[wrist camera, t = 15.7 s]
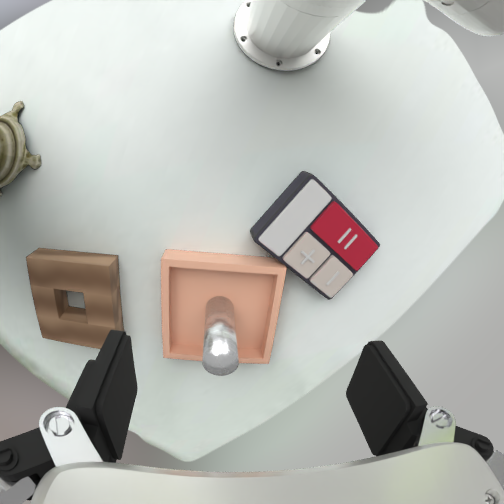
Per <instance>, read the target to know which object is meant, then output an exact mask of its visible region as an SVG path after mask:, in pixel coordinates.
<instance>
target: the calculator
mask: <svg viewBox="0 0 504 504" xmlns="http://www.w3.org/2000/svg"><path fill="white" fill-rule="evenodd" d="M250 232H251V235H252V237H253V239H254V241H255V242H256V243H257V244H258V245H260V246H261V247H262V248H264V249H265V250H266V251H267V252H269V253H270V254H271V255H272V256H274V257H275V258H276V259H278V260H279V261H280V262H281V263H283V264H284V265H285V266H286V267H288V268H289V269H290V270H291V271H293V272H294V273H295V274H297V275H298V276H299V277H300V278H302V279H303V280H304V281H305V282H307V283H308V284H309V285H310V286H312V287H313V288H314V289H315V290H317V291H318V292H319V293H320V294H322V295H323V296H324V297H325V298H327V299H332V298H333V297H334V296H335V294H336V293H337V292H338V291H339V290H340V289H341V288H342V287H343V286H344V285H345V284H346V283H347V282H348V281H349V280H350V279H351V278H352V277H353V276H354V274H355V273H356V272H357V271H358V270H359V269H360V268H361V267H362V266H363V265H364V264H365V262H366V261H367V260H368V259H369V258H370V257H371V256H372V255H373V254H374V252H375V251H376V250H377V249H378V248H379V246H380V244H379V242H378V241H377V240H376V239H375V238H374V237H373V236H372V234H371V233H370V232H369V231H368V230H367V229H366V228H365V227H364V226H363V225H362V224H361V223H360V222H359V220H358V219H357V218H356V217H355V216H354V215H353V214H352V213H351V212H350V211H349V210H348V209H347V208H346V207H345V206H344V205H343V204H342V203H341V202H340V201H339V200H338V199H337V198H336V197H335V196H334V195H333V194H332V193H331V192H330V191H329V190H328V189H327V188H326V187H325V186H324V185H323V184H322V183H321V182H320V181H319V180H318V179H317V178H316V177H315V176H314V175H313V174H310V173H308V172H305V171H302V172H301V173H300V174H299V175H298V176H297V177H296V178H295V180H294V181H293V182H292V183H291V184H290V185H289V186H288V187H287V189H286V190H285V191H284V192H283V193H282V194H281V195H280V196H279V198H278V199H277V200H276V201H275V202H274V203H273V204H272V206H271V207H270V208H269V209H268V210H267V211H266V212H265V213H264V215H263V216H262V217H261V218H260V219H259V220H258V221H257V223H256V224H255V225H254V226H253V227H252V228H251V230H250Z"/></svg>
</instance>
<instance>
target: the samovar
mask: <svg viewBox="0 0 504 504" xmlns="http://www.w3.org/2000/svg"><path fill="white" fill-rule="evenodd" d="M22 108H24V104H23V102H22V101H19V102H17V103H15V104H14V106H13V109H12V111H10V112H8V113H6V114H4V115H2V116H0V188H2V187H3V186H5V185H8V184H9V183H11V182H12V181H13V180H14V179H15V178H16V176H17V174H19V173H20V172H21V171H22V170H23V169H25V168H26V167H27V166H28V165H29V166H30V167H31V168H33V169H37V168H39V167H40V166H41V156H40V155H39V154H38V155H31V154H30V152H29V151H28V150H27V149H26V145H25V141H26V138H25V134H24V131H23V128H22V126H21V125H20V124H19V123H18V118H17V116H18V113H19V111H20V109H22ZM0 196H2V193H1V191H0Z"/></svg>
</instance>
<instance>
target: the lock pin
mask: <svg viewBox="0 0 504 504" xmlns="http://www.w3.org/2000/svg"><path fill="white" fill-rule="evenodd" d="M202 362H203V366H204V368H205V369H206V370H207V371H208V372H209V373H211V374H214V375H219V376H222V375H228V374H230V373H232V372H234V371H235V370H236V369H237V367H238V364H239V360H238V349H237V339H236V329H235V318H234V307H233V304H232V302H231V301H230V300H229V299H228V298H226V297H223V296H216V297H213V298H211V299H210V300H209V301H208V302H207V304H206V311H205V326H204V342H203V361H202Z"/></svg>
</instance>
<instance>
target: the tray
mask: <svg viewBox="0 0 504 504" xmlns="http://www.w3.org/2000/svg"><path fill="white" fill-rule="evenodd" d="M286 270H287V268H286V266H285V265H284V264H283V263H281V262H280V261H279V260H278V259H276V258H272V257H259V256H246V255H233V254H220V253H208V252H195V251H182V250H170V249H166V250H165V252H164V254H163V256H162V258H161V309H162V339H163V358H172V359H183V360H196V361H203V342H204V326H205V311H206V304H207V302H208V301H209V300H210V299H211V298H213V297H216V296H223V297H226V298H228V299H229V300H230V301H231V302H232V304H233V307H234V318H235V329H236V339H237V349H238V360H239V363H258V364H269V361H270V356H271V351H272V346H273V340H274V335H275V330H276V325H277V320H278V314H279V309H280V303H281V298H282V292H283V287H284V281H285V275H286Z"/></svg>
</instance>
